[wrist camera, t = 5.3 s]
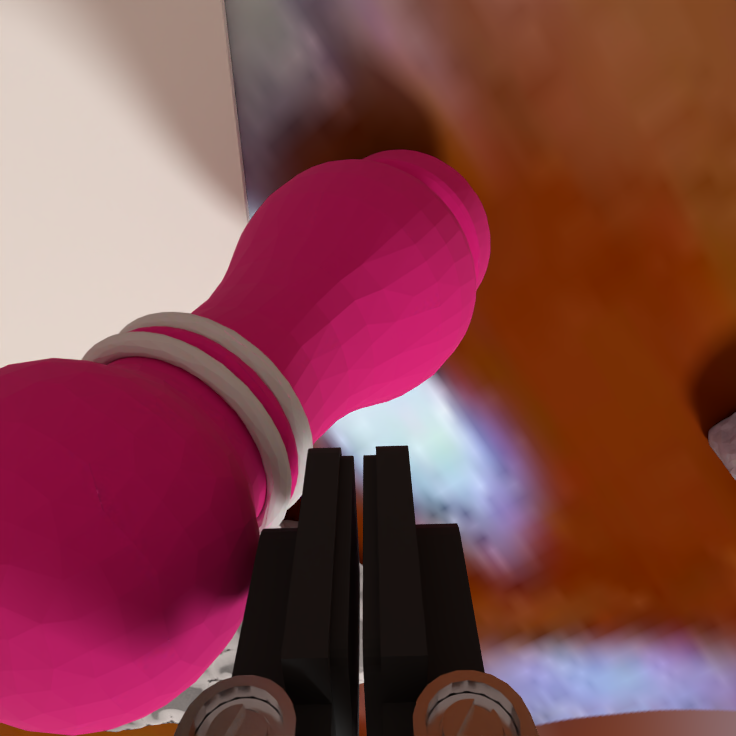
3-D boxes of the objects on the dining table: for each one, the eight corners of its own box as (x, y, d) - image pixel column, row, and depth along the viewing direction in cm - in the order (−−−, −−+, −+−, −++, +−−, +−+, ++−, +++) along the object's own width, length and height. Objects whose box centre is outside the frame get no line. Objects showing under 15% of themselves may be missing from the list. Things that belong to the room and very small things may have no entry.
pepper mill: (294, 150, 23) (-533, 503, 7) (492, 115, 20) (-213, 601, 4) (339, 332, 26) (-179, 858, 10) (517, 326, 23) (161, 1068, 7)
